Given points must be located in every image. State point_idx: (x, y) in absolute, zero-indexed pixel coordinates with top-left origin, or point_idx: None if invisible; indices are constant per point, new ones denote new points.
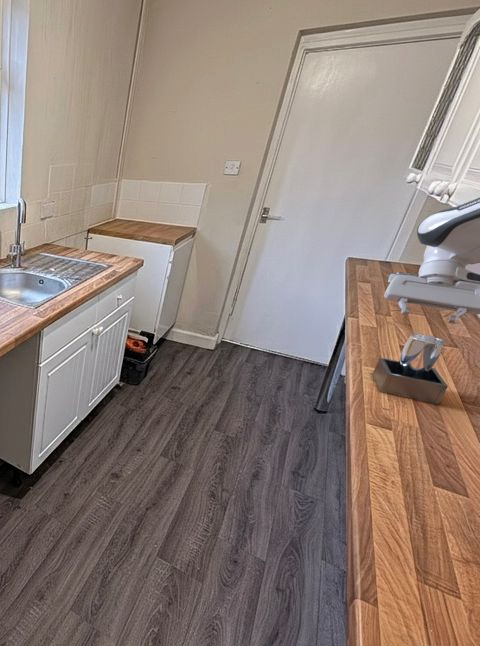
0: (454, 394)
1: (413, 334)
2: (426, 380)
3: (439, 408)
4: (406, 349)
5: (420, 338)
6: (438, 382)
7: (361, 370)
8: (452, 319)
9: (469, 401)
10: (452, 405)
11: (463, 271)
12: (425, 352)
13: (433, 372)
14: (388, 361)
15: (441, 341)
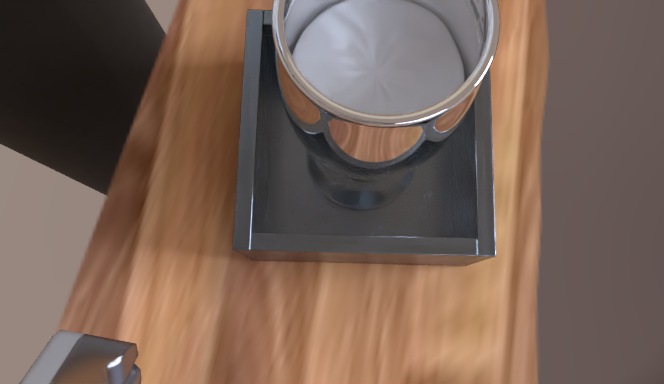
0: (155, 225)
1: (471, 76)
2: (262, 229)
3: None
4: (468, 38)
5: (392, 135)
6: (262, 81)
7: (509, 293)
8: (102, 349)
9: (120, 177)
10: (206, 89)
11: None
12: None
13: (254, 186)
14: (450, 239)
15: (283, 42)
